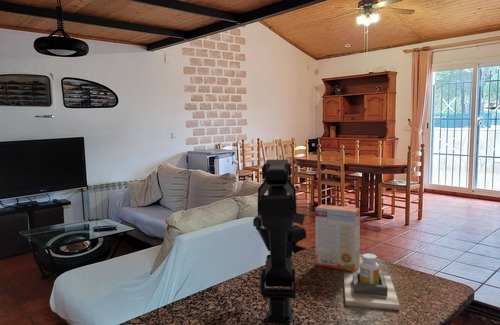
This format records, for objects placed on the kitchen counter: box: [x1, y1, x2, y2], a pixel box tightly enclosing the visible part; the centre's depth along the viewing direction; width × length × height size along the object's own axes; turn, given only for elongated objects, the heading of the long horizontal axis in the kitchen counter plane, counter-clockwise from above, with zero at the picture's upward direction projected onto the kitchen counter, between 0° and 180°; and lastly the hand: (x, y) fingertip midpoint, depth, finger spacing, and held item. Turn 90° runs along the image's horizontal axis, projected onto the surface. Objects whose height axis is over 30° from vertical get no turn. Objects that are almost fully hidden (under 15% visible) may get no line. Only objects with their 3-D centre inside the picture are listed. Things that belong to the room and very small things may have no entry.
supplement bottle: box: [359, 252, 380, 285], centre depth 109 cm, size 5×5×10 cm
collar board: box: [343, 271, 401, 311], centre depth 109 cm, size 18×14×4 cm
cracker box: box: [314, 204, 361, 273], centre depth 128 cm, size 14×6×21 cm, turn 58°
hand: (278, 255), depth 108 cm, fingers open, 9 cm apart
